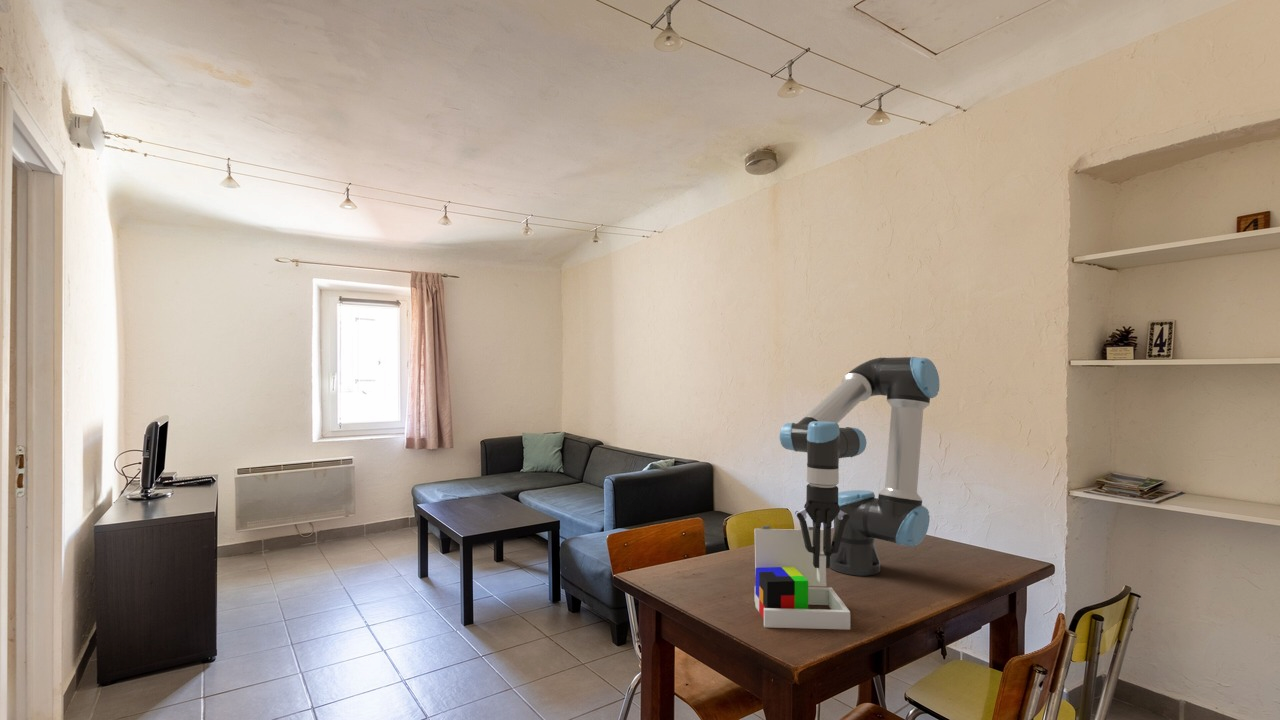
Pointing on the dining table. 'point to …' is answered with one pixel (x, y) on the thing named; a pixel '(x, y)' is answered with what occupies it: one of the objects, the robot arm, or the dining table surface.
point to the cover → (786, 551)
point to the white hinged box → (811, 613)
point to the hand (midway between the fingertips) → (821, 580)
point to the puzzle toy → (780, 589)
